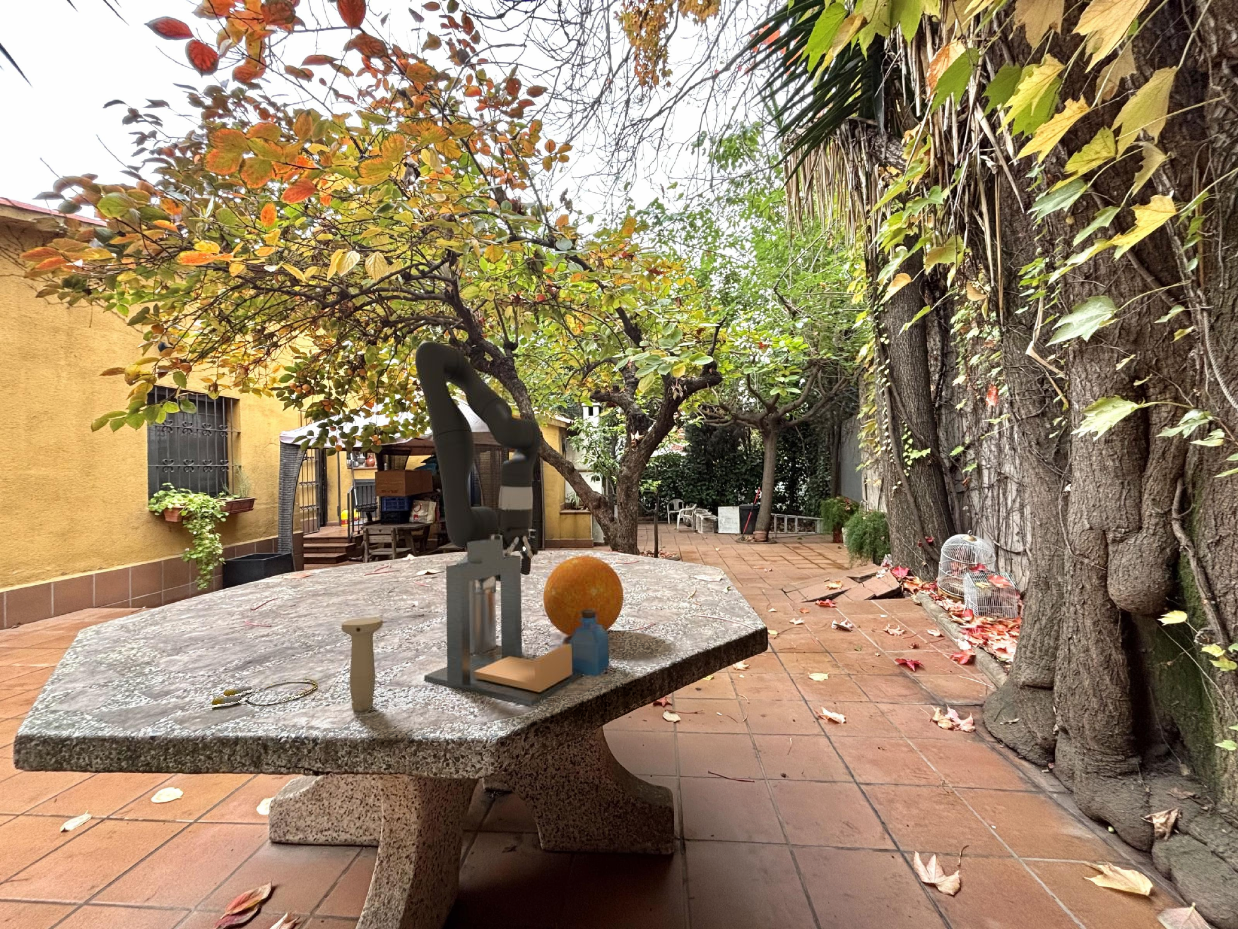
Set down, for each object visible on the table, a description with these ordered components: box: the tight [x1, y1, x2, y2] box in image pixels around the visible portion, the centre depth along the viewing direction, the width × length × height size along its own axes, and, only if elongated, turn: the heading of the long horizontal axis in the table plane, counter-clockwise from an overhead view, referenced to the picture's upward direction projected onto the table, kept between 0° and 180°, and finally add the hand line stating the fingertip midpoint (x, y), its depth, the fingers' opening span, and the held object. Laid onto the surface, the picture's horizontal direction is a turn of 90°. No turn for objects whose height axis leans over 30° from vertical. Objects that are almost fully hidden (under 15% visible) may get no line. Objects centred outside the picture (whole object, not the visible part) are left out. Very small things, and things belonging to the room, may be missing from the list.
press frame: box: [423, 539, 584, 707], centre depth 106 cm, size 27×17×27 cm, turn 60°
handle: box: [341, 617, 383, 712], centre depth 93 cm, size 5×6×15 cm
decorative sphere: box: [542, 555, 624, 638], centre depth 133 cm, size 20×20×20 cm
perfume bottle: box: [568, 609, 610, 677], centre depth 110 cm, size 6×6×12 cm
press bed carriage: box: [474, 643, 572, 692], centre depth 103 cm, size 16×10×6 cm, turn 60°
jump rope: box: [211, 678, 318, 706], centre depth 100 cm, size 12×16×2 cm
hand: (512, 577), depth 121 cm, fingers open, 8 cm apart
